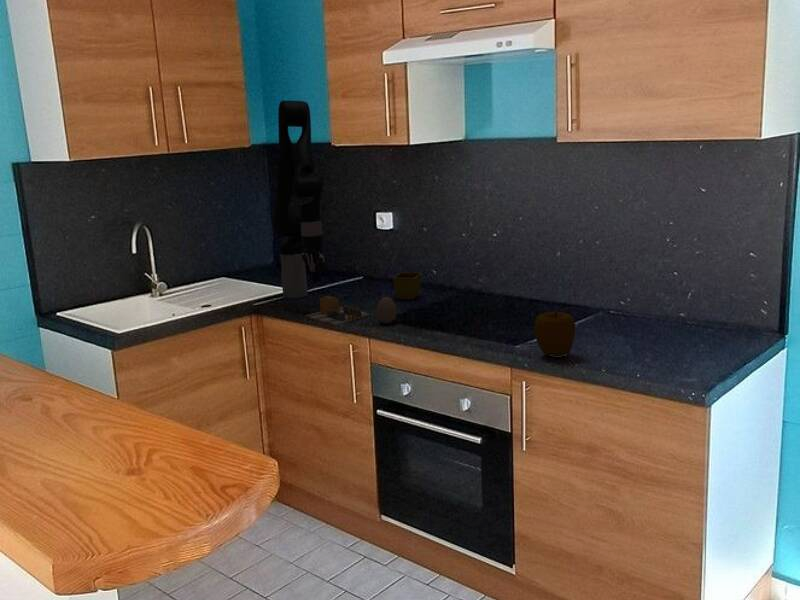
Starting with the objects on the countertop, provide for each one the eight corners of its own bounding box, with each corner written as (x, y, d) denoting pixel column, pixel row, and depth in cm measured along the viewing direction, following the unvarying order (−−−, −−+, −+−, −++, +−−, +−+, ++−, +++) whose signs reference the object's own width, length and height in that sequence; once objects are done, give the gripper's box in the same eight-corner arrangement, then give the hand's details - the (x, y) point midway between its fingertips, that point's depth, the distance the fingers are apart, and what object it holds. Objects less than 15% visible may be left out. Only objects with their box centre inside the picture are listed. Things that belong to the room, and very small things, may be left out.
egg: (373, 324, 268) (371, 298, 266) (385, 320, 273) (384, 293, 271) (389, 327, 264) (387, 300, 262) (401, 322, 269) (399, 295, 267)
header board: (305, 316, 283) (304, 304, 282) (342, 308, 293) (341, 295, 292) (335, 325, 269) (334, 312, 268) (373, 316, 279) (372, 303, 278)
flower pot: (416, 301, 297) (414, 277, 295) (393, 300, 300) (392, 277, 298) (423, 296, 305) (421, 272, 303) (401, 295, 308) (399, 272, 306)
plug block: (320, 312, 286) (319, 297, 285) (329, 310, 288) (328, 295, 287) (330, 315, 281) (329, 299, 280) (339, 312, 284) (338, 297, 282)
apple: (531, 360, 222) (530, 315, 219) (540, 349, 231) (540, 305, 229) (571, 363, 217) (570, 317, 215) (579, 352, 227) (579, 307, 224)
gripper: (331, 233, 282) (335, 281, 286) (310, 231, 292) (314, 277, 296) (313, 236, 277) (318, 285, 281) (292, 233, 287) (297, 281, 291)
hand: (316, 281), depth 288 cm, fingers closed
